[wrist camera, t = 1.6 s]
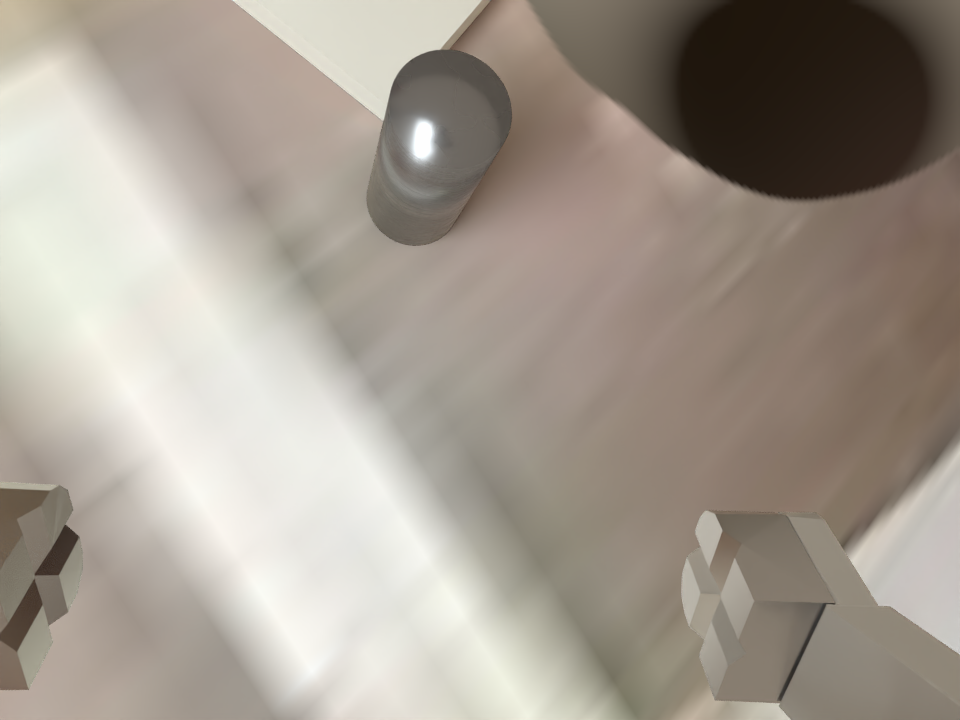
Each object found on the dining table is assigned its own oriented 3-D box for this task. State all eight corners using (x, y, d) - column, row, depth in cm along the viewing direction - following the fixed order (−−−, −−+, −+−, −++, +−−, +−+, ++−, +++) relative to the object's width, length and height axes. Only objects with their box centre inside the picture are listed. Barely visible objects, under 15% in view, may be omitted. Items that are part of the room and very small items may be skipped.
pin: (347, 205, 33) (363, 112, 24) (404, 138, 34) (438, 25, 25) (422, 264, 33) (464, 193, 25) (476, 196, 34) (535, 104, 26)
